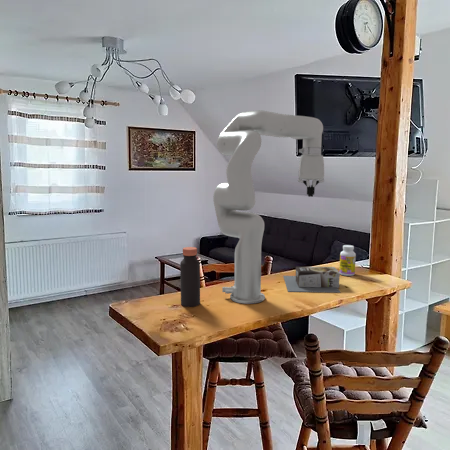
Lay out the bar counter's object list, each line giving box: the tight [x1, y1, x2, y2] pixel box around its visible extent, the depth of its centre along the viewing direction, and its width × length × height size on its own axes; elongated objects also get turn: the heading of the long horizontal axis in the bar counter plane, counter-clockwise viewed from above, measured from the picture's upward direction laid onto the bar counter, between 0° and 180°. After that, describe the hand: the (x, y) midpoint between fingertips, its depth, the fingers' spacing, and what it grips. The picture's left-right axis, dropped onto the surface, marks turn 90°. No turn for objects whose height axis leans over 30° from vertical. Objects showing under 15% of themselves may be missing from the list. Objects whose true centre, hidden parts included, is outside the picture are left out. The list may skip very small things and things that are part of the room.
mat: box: [282, 275, 341, 294], centre depth 173 cm, size 20×22×1 cm
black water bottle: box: [179, 246, 201, 308], centre depth 147 cm, size 7×7×20 cm
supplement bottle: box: [338, 244, 357, 277], centre depth 187 cm, size 7×7×13 cm
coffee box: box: [295, 266, 341, 289], centre depth 171 cm, size 9×6×16 cm
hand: (310, 196), depth 178 cm, fingers closed
